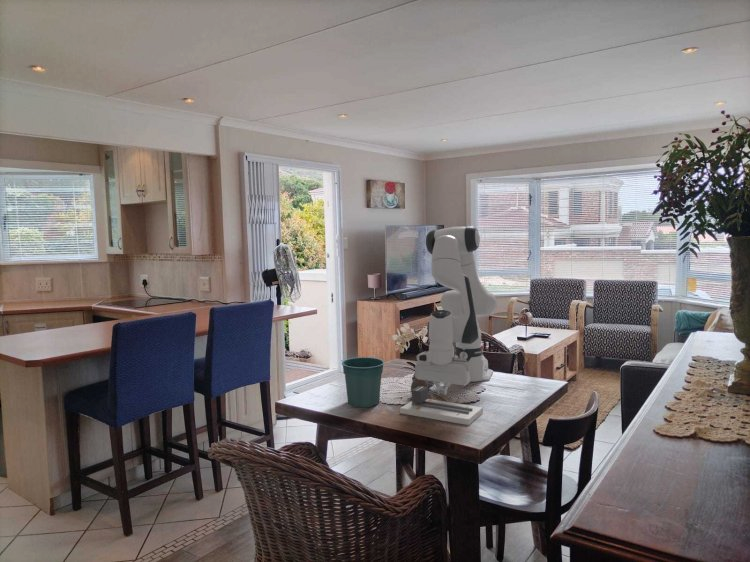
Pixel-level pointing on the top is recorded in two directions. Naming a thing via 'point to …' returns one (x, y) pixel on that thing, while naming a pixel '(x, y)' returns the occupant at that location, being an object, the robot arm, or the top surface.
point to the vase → (418, 383)
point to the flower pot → (363, 380)
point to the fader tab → (419, 394)
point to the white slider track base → (443, 411)
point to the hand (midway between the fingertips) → (442, 393)
